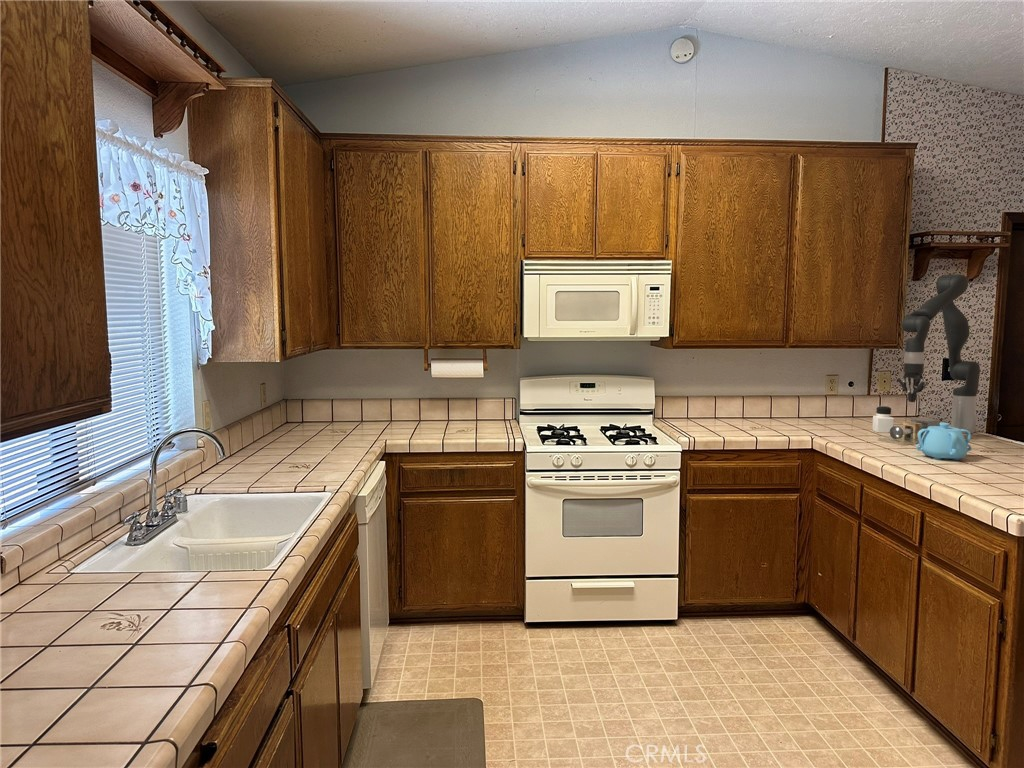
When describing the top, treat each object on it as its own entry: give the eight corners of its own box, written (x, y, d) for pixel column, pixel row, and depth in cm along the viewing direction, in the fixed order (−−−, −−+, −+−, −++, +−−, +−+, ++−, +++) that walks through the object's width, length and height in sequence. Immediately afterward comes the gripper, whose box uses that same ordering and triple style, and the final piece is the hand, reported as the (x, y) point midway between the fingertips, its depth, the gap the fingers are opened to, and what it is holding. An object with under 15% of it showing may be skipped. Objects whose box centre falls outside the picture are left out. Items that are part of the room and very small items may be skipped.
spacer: (908, 436, 297) (909, 421, 296) (921, 438, 292) (921, 423, 291) (902, 436, 296) (903, 422, 295) (914, 439, 290) (915, 424, 290)
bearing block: (919, 436, 304) (920, 416, 303) (945, 440, 293) (946, 420, 292) (878, 440, 294) (879, 420, 294) (902, 445, 283) (903, 425, 282)
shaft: (918, 434, 299) (919, 422, 298) (930, 436, 294) (931, 424, 293) (889, 437, 292) (889, 425, 292) (900, 440, 287) (901, 427, 287)
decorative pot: (977, 459, 256) (979, 424, 255) (953, 463, 249) (955, 427, 247) (933, 451, 270) (935, 418, 269) (909, 456, 263) (911, 421, 262)
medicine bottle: (893, 433, 312) (894, 407, 311) (877, 432, 313) (878, 407, 312) (888, 430, 319) (889, 405, 318) (872, 430, 320) (873, 405, 319)
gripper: (934, 363, 285) (932, 403, 286) (907, 361, 297) (905, 399, 299) (920, 363, 282) (918, 404, 284) (894, 361, 295) (892, 400, 297)
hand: (911, 401), depth 292 cm, fingers closed
